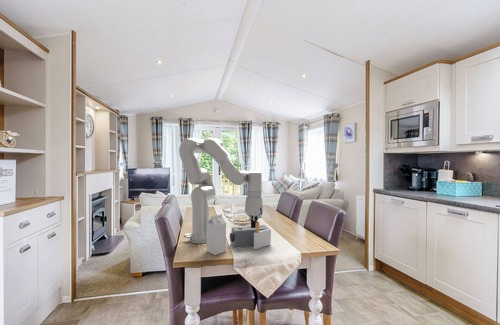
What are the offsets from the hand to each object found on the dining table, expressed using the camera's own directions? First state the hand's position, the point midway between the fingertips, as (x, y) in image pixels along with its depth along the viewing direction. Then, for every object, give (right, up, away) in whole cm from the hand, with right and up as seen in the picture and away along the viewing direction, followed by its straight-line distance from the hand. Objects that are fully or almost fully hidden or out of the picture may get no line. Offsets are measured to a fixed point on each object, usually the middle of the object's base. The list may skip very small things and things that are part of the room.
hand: (253, 227), depth 146 cm
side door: (+5, -10, 0) cm, 11 cm away
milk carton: (-20, -11, -8) cm, 24 cm away
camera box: (-2, -11, +6) cm, 12 cm away
